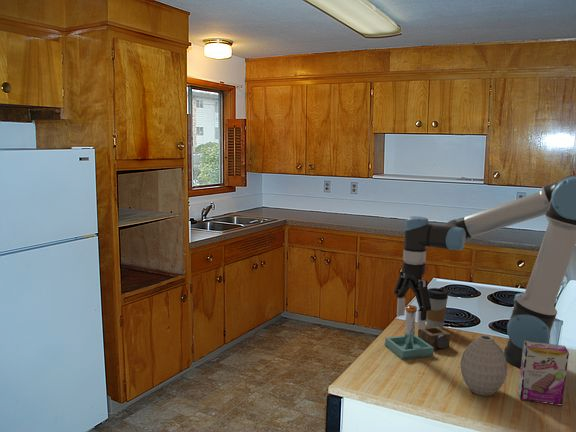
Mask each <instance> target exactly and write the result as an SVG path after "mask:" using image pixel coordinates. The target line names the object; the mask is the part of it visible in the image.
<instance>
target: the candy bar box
mask: <svg viewBox="0 0 576 432" xmlns="http://www.w3.org/2000/svg"><path fill="white" fill-rule="evenodd" d="M569 353H570V352H569V350H568V349H567V346H566V345H560V344H553V343H549V344H546V343H538V342H531V341H524V343H523V352H522V361H521V368H520V370H519V378H518V388H517V392H518V395H519V399H520V400H521V399H522V401H527V400H530V401H529V402H534V401H539V402H538V403H540V402H547V403H553V404H562V405H563V401H564V392H565V386H566V377H567V370H568V369H567V368H568V361H569V355H570V354H569ZM547 403H546V404H547ZM553 404H552V405H553Z"/></svg>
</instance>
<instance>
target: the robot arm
mask: <svg viewBox="0 0 576 432" xmlns="http://www.w3.org/2000/svg"><path fill="white" fill-rule="evenodd" d="M541 216H545V218H546V220H547V221H548V224H547V227H546V229H545V230H546V231H545V232H544V235H543V238H542V241H541V245H540V248H539V250H538V254H537V256H536V259H535V262H534V263H533V267H532V271H531V274H530V276H529V280H528V282H527V285H526V288H525V291H524V292H520V293H517V294H515V295H514V299H513V309H512V312H511V315H510V319H509V320H508V322H507V325H506V331H507V335H508V338H509V339H508V341H507V344H506V346H505V347H504V350H503V353H504V355H505V358H506V361H507V363H509V364H510V365H513V366H514V367H517V368H520V369H521V361H522V352H523V343H524V341H531V342H538V343H546V344H550V337H551V331H552V328H553V325H554V323H555V319H556V317H557V315H558V310H557V309H556V307H555V303H556V301H557V300H556V299H557V297H558V296H559V292H560V289H561V287H562V283H563V281H564V278H565V275H566V272H567V270H568V267H569V264H570V262H571V258H572V257H573V253H574V250H575V247H576V174H571V175H567V176H565V177H563V178H561V179H559V180H557V181H555V182H553V183H550V184H548V185H546V186H542V188H541V189H540V191H537V192H534V193H532V194H529V195H525V196H523V197H522V196H521V197H519V198H516V199H513V200H510V201H508V202H504V203H501V204H498V205H495V206H493V207H490V208H486V209H484V210H480V211H478V212H475V213H471V214H469V215H465V216H463V217H459V218H457V219H455V218H454V219H451V220H449V221H447V222H446V223H445V224H444V225H439V224H431V223H430V222H429V219H428V218H427V217H425V216H424V217H423V216H417V215H416V216H408V217H407V218H406V219H405V225H404V229H403V231H404V236H403V237H404V239H403V240H404V241H403V252H402V253H403V254H402V260H403V261H402V271H399V277H398V280H397V282H396V286H395V287H394V291H393V294H394V295H396V298H397V300H396V301H397V303H396V306H397V307H396V316H397V317H400V316H402V317H403V316H405V315H406V313H405V312H406V297H407V296H406V294H407V293H408V291H409V289H410V290H411V291H412V293H414V295H415V299H416V302H417V305H418V309H417V320H416V321H417V322H416V329H417V330H418V329H425V327H426V314H427V311H431V304H430V299H429V293H428V289H429V288H428V280H423V278H422V276H423V275H425V274H426V259H427V258H426V257H427V248H428V247H429V248H438V249H442V250H444V249H445V250H450V251H462V250H463V249H464V247H465V245H466V240H468V239H470V238H474V237H478V236H480V235H484V234H486V233H490V232H493V231H497V230H499V229H503V228H506V227H509V226H512V225H515V224H520V223H523V222H526V221H529V220H532V219H535V218H539V217H541Z"/></svg>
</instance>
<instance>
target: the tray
mask: <svg viewBox="0 0 576 432" xmlns="http://www.w3.org/2000/svg"><path fill="white" fill-rule="evenodd" d="M384 340H385V341H384V342H385V343H384V346H385V348H387V349H388V350H389V351H391V352H392V353H393V354H394V355H396V356H397V357H398V358H400V359H401V361H402V360H404V361H405V360H411V359H413V360H414V359H420V358H427V357H434V351H435V349H434V347H432V346H431V345H429V344H428V343H426V342H425V341H423V340H422V339H421V338H419V337H418V335H416V334H414V347H413V349H407V350H405V349H404V340H405V335H399V336H398V335H397V336H390V337H385V339H384Z"/></svg>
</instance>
